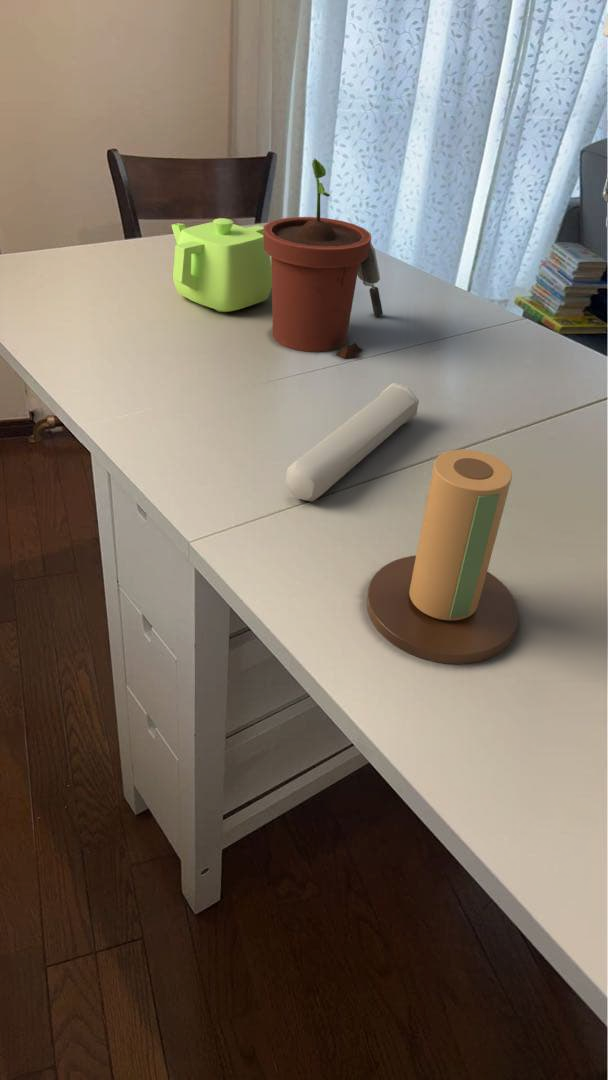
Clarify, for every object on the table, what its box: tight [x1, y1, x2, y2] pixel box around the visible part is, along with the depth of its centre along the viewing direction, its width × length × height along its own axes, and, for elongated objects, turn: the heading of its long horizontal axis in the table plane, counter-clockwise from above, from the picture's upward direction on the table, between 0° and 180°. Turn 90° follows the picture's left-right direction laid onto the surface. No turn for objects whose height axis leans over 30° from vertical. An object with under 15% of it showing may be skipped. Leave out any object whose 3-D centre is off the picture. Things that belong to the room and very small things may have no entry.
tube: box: [285, 381, 420, 503], centre depth 95 cm, size 5×5×25 cm
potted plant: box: [263, 157, 384, 359], centre depth 119 cm, size 18×22×25 cm
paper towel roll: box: [409, 449, 513, 621], centre depth 70 cm, size 6×7×14 cm
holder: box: [366, 555, 520, 665], centre depth 75 cm, size 14×14×2 cm
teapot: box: [171, 217, 272, 313], centre depth 132 cm, size 18×20×13 cm
